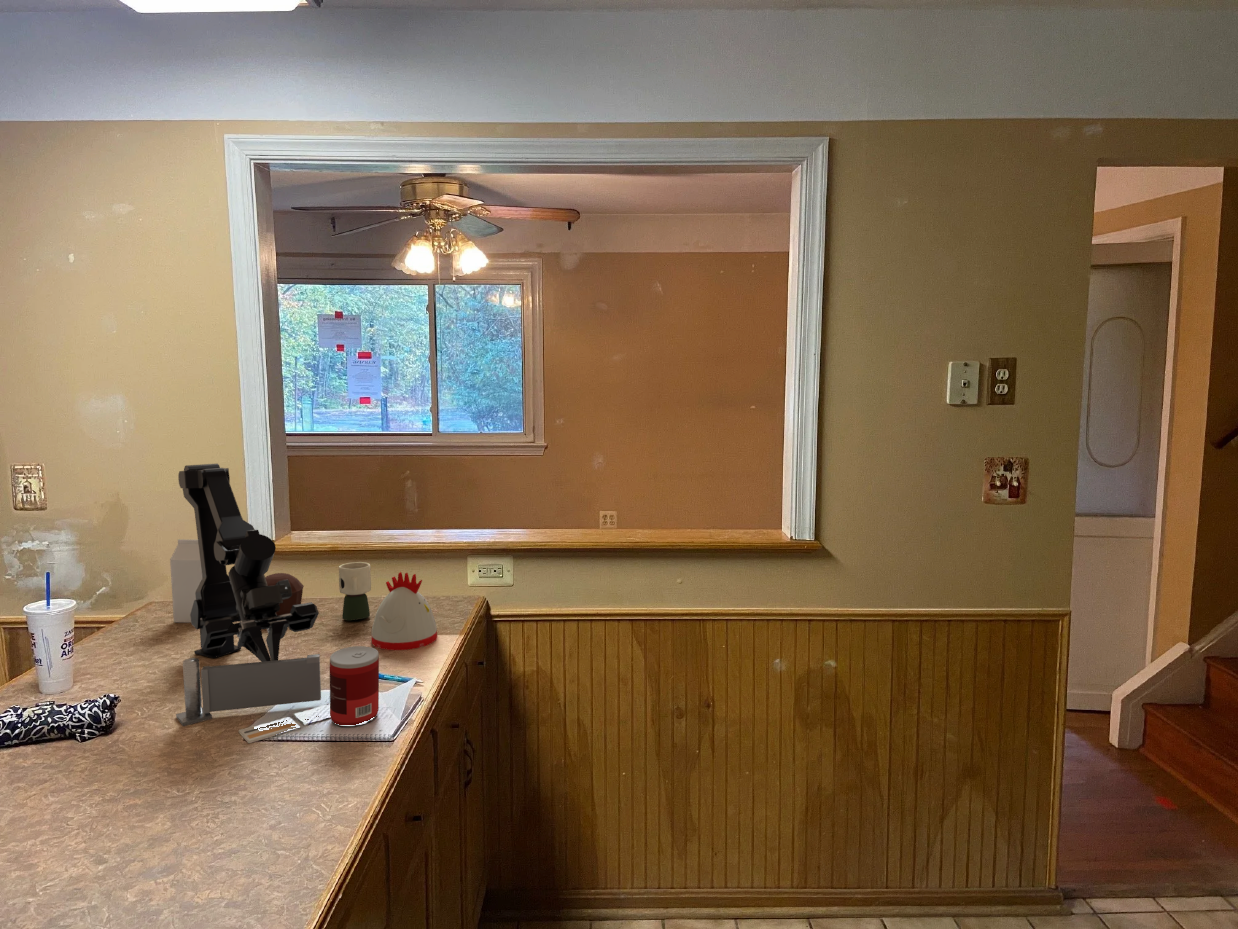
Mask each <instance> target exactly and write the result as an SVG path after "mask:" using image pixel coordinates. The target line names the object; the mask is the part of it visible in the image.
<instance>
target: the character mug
mask: <svg viewBox="0 0 1238 929" xmlns="http://www.w3.org/2000/svg"><path fill="white" fill-rule="evenodd" d="M371 569H372V567H371V564H370V563H368V562H362V561H356V562H355V561H353V562H347V563H343V564H341V565H339V566H338V587H339V588H338V589H339V593H341V594H344V595H345V596H344V597H343V604H342V617H341V618H342V620H344V621H355V622H357V621H358V620H363V619H366V618H370V616H371V615H370V614H371V612H370V605H369V604H370V603H369V599H368V595H367V593H369V592H370V591H371V590H372V574H371V573H372V570H371Z"/></svg>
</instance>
